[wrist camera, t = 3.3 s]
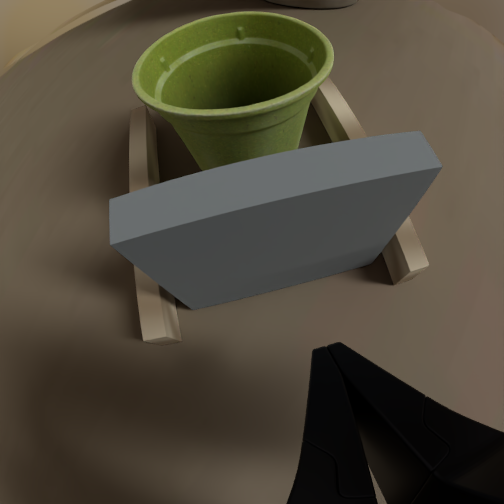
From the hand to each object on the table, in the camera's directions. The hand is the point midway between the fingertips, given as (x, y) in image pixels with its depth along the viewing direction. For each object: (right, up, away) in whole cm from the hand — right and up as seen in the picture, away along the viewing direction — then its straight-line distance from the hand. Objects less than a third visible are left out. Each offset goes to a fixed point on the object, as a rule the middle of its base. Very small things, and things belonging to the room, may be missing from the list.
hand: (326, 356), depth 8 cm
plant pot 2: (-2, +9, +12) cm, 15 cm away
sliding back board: (-1, +3, +8) cm, 9 cm away
